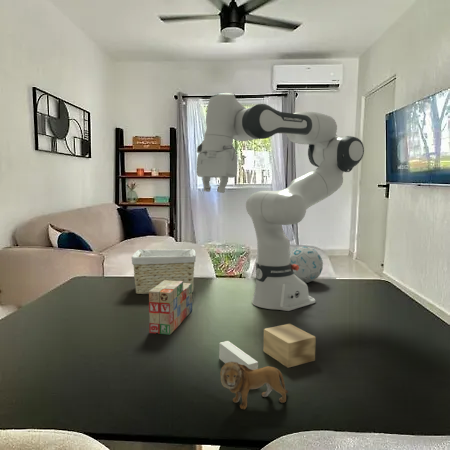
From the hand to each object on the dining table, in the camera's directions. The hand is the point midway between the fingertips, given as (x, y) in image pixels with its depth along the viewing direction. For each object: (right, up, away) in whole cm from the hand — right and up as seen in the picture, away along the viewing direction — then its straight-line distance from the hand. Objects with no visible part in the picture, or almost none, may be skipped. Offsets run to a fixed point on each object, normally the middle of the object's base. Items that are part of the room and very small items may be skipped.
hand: (213, 192), depth 124 cm
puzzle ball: (+37, -34, +45) cm, 68 cm away
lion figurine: (+9, -45, -47) cm, 65 cm away
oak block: (+19, -42, -26) cm, 53 cm away
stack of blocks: (-12, -40, -2) cm, 42 cm away
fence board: (+6, -43, -33) cm, 54 cm away
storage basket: (-20, -36, +33) cm, 53 cm away
